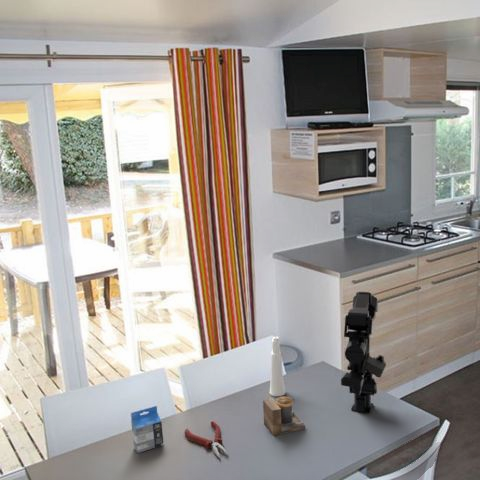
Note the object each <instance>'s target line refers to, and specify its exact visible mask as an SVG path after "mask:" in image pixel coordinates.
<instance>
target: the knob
mask: <svg viewBox="0 0 480 480" xmlns="http://www.w3.org/2000/svg"><path fill="white" fill-rule="evenodd" d="M275 403H276V404H277V405H278V406H279V407H280V408H281V427H282V426H287V425H291V424H295V421H294V420H293V419H292V412H293V399H292V397H289V396H278V398H276V400H275Z"/></svg>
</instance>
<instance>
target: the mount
mask: <svg viewBox="0 0 480 480" xmlns="http://www.w3.org/2000/svg"><path fill="white" fill-rule="evenodd" d="M262 401H263V402H262V407H263V408H262V409H263V425H264V426H265V427H266V429H267V431H269V433H270V434H271V435H272V436H273V437H275V436H279V435H283V434H287V433H292V432H295V431H301V430H303V429H306V425H305V424H304V423H305V422H304V421H302V420H301V419H300V418H299V416H297V415H296V414H295V411H293V410H292V419H293V420H294V421H295V424H291V425H287V426H282V427H281V408H280V407H279V406H278V405H277V404H276V400H274V399H273V398H272V397H269V398H265V399H264V398H263V399H262Z"/></svg>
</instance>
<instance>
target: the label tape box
mask: <svg viewBox="0 0 480 480" xmlns="http://www.w3.org/2000/svg"><path fill="white" fill-rule="evenodd" d="M147 412H148V413H147ZM143 413H144V414H143ZM130 417H131V419H130V421H131V422H130V423H131V431H132V440H133V448H134V450H135V451H136V453H137V454H140V453H143V452H145V451H149V450H152V449H155V448H158V447H162V446H164V445H165V444H164V435H163V434H164V433H163V423H162V419H161V417H160V416H159V413H158V406H157V405H155V406H151V407H148V408H144V409H139V410H137V411H132V412H131V413H130Z"/></svg>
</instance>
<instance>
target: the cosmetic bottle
mask: <svg viewBox="0 0 480 480" xmlns="http://www.w3.org/2000/svg"><path fill="white" fill-rule="evenodd" d="M280 346H281V343H280V337H279V336H273V337H272V339H271V349H272V350H271V353H270V354H271V355H270V385H269V393H268V394H269V395H270V396H273V397H283V396H284V395H285V394H286V393H287V392H286V388H285V382H284V371H283V361H282V359H283V358H282V352H281V347H280Z"/></svg>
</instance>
